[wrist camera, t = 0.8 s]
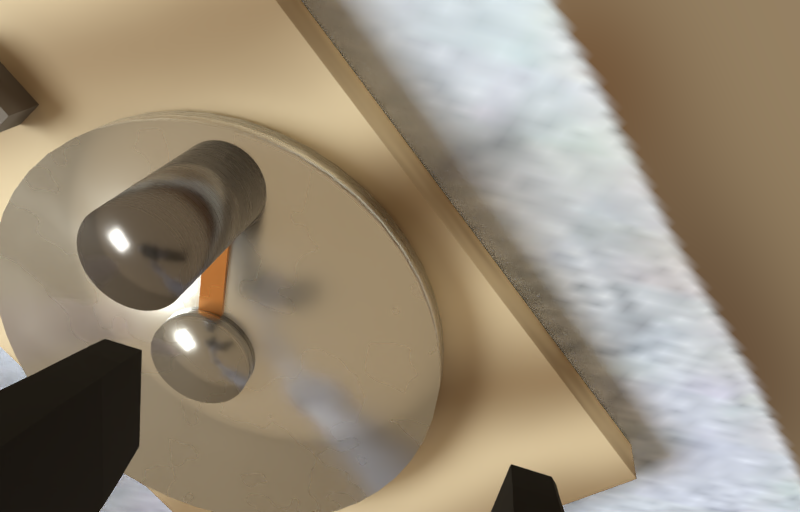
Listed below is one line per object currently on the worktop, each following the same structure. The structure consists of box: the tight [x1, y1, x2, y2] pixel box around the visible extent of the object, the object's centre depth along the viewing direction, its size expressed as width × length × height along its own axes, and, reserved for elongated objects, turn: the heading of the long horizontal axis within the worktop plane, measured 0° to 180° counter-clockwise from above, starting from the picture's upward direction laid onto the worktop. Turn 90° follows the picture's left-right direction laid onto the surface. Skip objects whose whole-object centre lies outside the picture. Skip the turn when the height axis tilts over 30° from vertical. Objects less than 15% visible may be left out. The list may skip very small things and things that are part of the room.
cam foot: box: [0, 110, 444, 512], centre depth 18 cm, size 14×14×5 cm
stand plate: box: [0, 0, 636, 512], centre depth 21 cm, size 24×16×3 cm, turn 37°
